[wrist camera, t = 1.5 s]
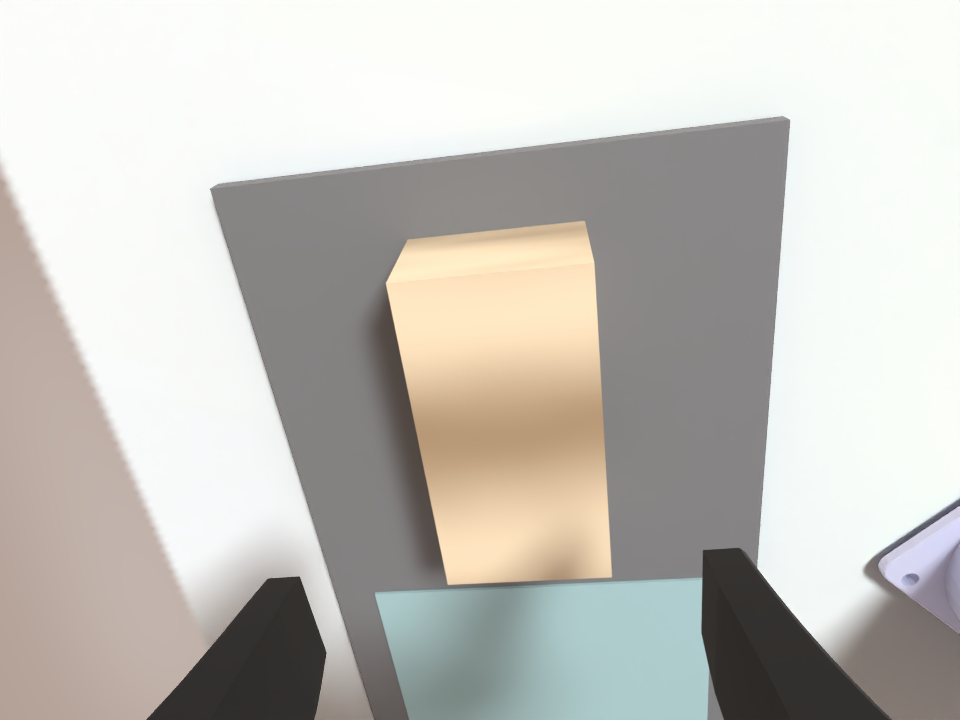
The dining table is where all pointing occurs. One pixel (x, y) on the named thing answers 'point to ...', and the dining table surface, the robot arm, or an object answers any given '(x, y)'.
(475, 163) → the mat
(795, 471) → the dining table surface
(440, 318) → the tan wooden block
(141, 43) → the dining table surface
